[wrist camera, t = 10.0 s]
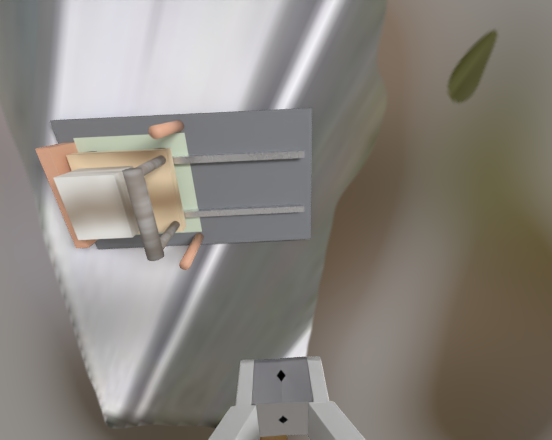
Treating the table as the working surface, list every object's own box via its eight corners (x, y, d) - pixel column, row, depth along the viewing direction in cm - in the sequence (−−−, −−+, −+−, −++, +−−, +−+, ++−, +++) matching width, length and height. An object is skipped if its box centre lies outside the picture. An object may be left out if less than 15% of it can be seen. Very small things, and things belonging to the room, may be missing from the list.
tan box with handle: (80, 151, 31) (4, 171, 22) (173, 146, 31) (135, 165, 22) (106, 227, 35) (51, 270, 26) (189, 223, 35) (161, 264, 26)
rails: (73, 160, 32) (67, 162, 31) (303, 149, 32) (304, 151, 31) (94, 219, 35) (89, 222, 34) (303, 209, 35) (304, 211, 34)
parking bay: (56, 126, 30) (-1, 132, 24) (183, 120, 30) (160, 125, 24) (100, 245, 37) (64, 275, 31) (204, 240, 37) (190, 269, 31)
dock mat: (56, 120, 31) (49, 120, 30) (310, 108, 31) (312, 108, 30) (101, 245, 38) (97, 249, 37) (309, 235, 38) (310, 238, 37)
